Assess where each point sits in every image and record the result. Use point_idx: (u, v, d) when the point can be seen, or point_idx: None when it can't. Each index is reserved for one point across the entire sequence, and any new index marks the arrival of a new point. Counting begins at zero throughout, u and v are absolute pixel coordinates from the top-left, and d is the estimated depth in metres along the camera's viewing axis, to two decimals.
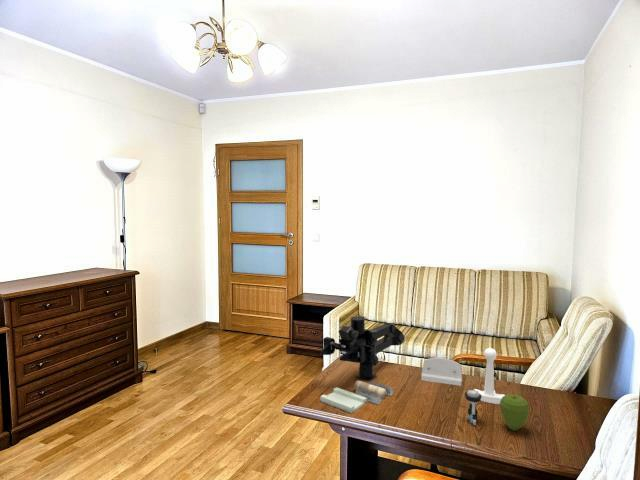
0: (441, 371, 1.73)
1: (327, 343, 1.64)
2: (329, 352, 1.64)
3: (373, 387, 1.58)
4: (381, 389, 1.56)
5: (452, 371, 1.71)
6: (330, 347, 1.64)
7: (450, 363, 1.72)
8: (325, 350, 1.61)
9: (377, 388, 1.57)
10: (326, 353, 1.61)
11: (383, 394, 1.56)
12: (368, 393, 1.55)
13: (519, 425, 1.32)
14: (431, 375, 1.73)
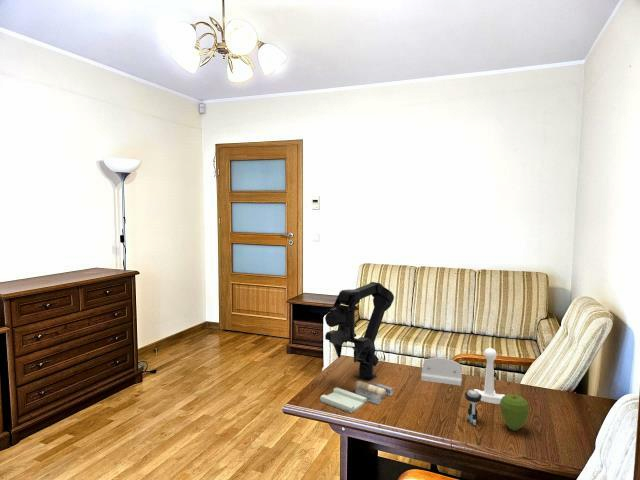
0: (441, 371, 1.73)
1: (334, 344, 1.68)
2: None
3: (373, 387, 1.58)
4: (381, 389, 1.56)
5: (452, 371, 1.71)
6: None
7: (450, 363, 1.72)
8: (338, 350, 1.68)
9: (377, 388, 1.57)
10: (340, 349, 1.69)
11: (383, 394, 1.56)
12: (368, 393, 1.55)
13: (519, 425, 1.32)
14: (431, 375, 1.73)
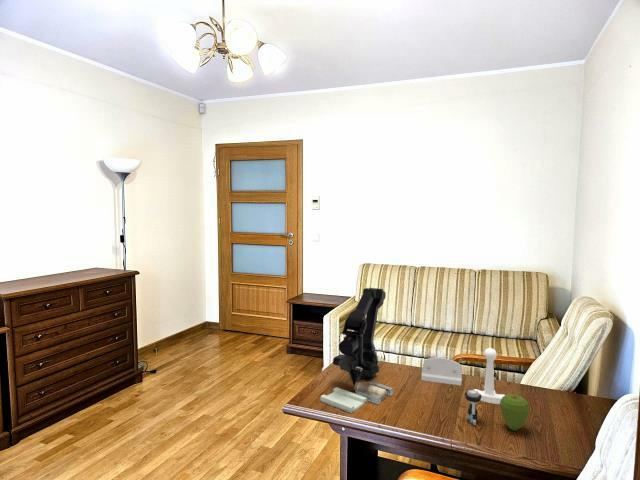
0: (441, 371, 1.73)
1: (349, 371, 1.63)
2: (356, 369, 1.66)
3: (373, 389, 1.57)
4: (380, 391, 1.55)
5: (452, 371, 1.71)
6: (353, 369, 1.64)
7: (450, 363, 1.72)
8: None
9: (376, 390, 1.56)
10: None
11: (383, 394, 1.55)
12: (368, 393, 1.55)
13: (519, 425, 1.32)
14: (431, 375, 1.73)
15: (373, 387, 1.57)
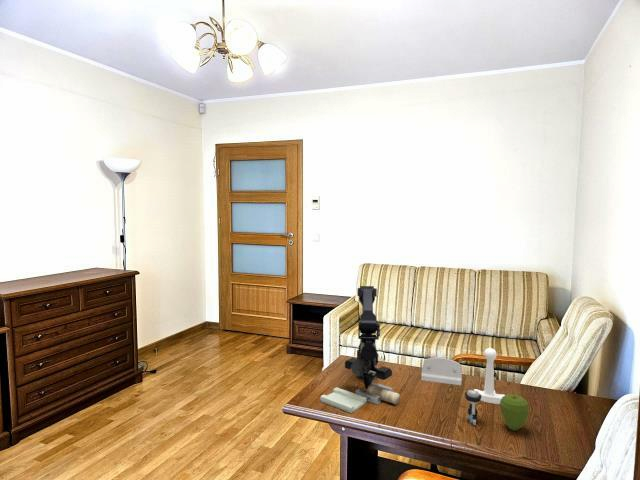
0: (441, 371, 1.73)
1: (361, 375, 1.60)
2: None
3: (386, 393, 1.53)
4: (394, 395, 1.51)
5: (452, 371, 1.71)
6: (366, 373, 1.61)
7: (450, 363, 1.73)
8: None
9: (390, 395, 1.52)
10: None
11: (397, 399, 1.52)
12: (368, 393, 1.55)
13: (519, 425, 1.32)
14: (431, 375, 1.73)
15: (386, 391, 1.54)
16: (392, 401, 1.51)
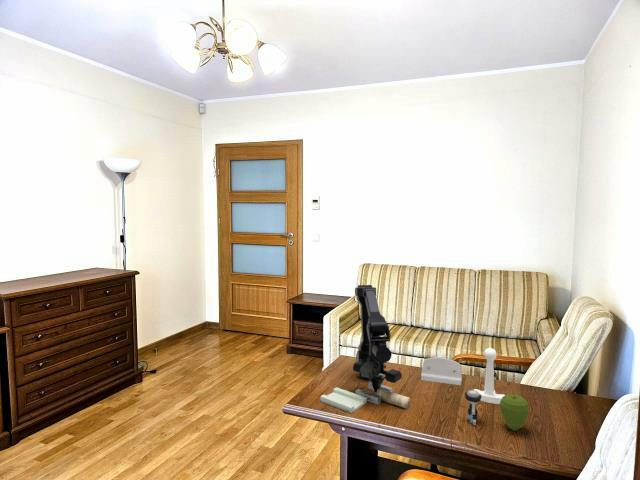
0: (441, 371, 1.73)
1: (370, 378, 1.57)
2: (377, 375, 1.59)
3: (396, 397, 1.51)
4: (404, 399, 1.48)
5: (452, 371, 1.72)
6: (375, 376, 1.58)
7: (450, 363, 1.73)
8: (375, 385, 1.58)
9: (400, 398, 1.49)
10: None
11: (407, 403, 1.49)
12: (368, 393, 1.55)
13: (519, 425, 1.32)
14: (431, 375, 1.73)
15: (396, 395, 1.51)
16: (402, 405, 1.48)
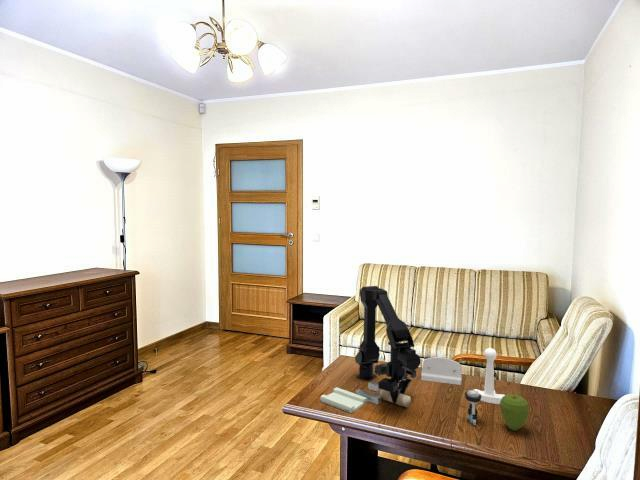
0: (441, 370, 1.73)
1: None
2: (404, 384, 1.53)
3: None
4: (406, 397, 1.49)
5: (452, 370, 1.72)
6: (400, 381, 1.54)
7: (450, 362, 1.73)
8: (399, 391, 1.54)
9: (402, 395, 1.50)
10: (403, 391, 1.53)
11: (408, 402, 1.50)
12: (368, 393, 1.55)
13: (519, 425, 1.32)
14: (431, 375, 1.73)
15: None
16: (403, 402, 1.49)
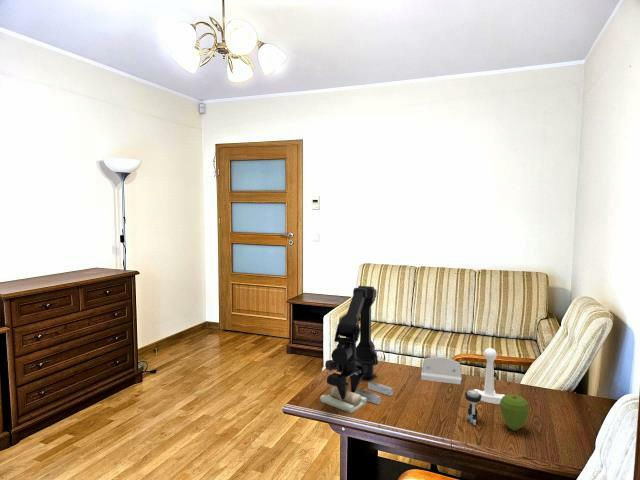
0: (441, 370, 1.74)
1: None
2: (357, 378, 1.53)
3: (348, 392, 1.51)
4: (355, 395, 1.49)
5: (452, 370, 1.72)
6: (353, 376, 1.54)
7: (449, 362, 1.73)
8: (352, 385, 1.54)
9: (351, 394, 1.50)
10: (355, 385, 1.54)
11: (358, 400, 1.49)
12: (368, 393, 1.55)
13: (519, 425, 1.32)
14: (431, 374, 1.74)
15: (348, 391, 1.52)
16: (352, 400, 1.48)
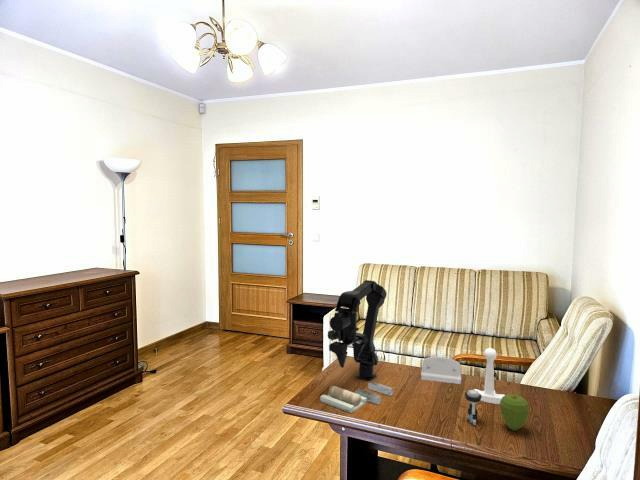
0: (441, 370, 1.74)
1: None
2: (359, 347, 1.64)
3: (348, 392, 1.51)
4: (355, 395, 1.49)
5: (451, 370, 1.73)
6: (356, 344, 1.65)
7: (449, 362, 1.74)
8: (355, 353, 1.65)
9: (351, 394, 1.50)
10: (358, 353, 1.65)
11: (358, 400, 1.49)
12: (368, 393, 1.55)
13: (519, 425, 1.32)
14: (431, 374, 1.74)
15: (348, 391, 1.52)
16: (352, 400, 1.48)
